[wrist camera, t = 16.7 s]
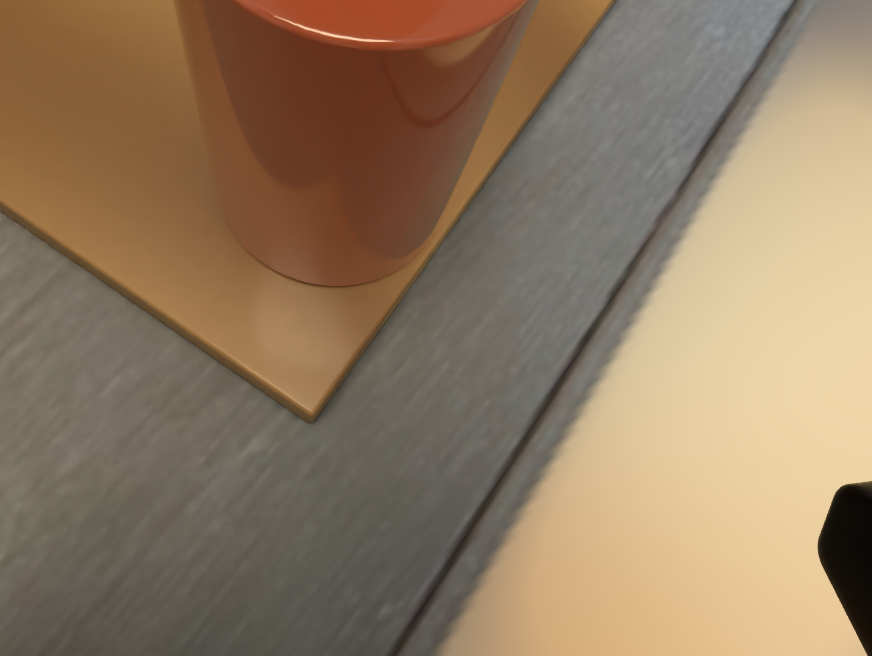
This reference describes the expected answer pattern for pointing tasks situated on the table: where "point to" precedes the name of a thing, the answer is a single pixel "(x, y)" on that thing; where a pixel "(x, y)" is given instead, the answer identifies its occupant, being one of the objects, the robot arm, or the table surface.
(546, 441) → the table surface
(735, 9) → the table surface
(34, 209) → the low shelf board
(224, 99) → the orange knobbed cylinder
